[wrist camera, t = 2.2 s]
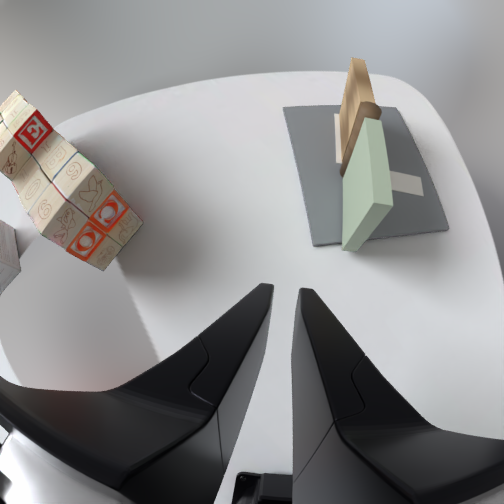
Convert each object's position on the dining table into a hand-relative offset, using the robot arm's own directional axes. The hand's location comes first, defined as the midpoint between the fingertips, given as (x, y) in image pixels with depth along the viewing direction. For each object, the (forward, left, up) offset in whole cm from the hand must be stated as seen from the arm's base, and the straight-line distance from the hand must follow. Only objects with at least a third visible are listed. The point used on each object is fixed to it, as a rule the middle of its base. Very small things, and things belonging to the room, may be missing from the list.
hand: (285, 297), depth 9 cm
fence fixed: (+18, -5, -13) cm, 22 cm away
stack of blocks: (+10, +24, -13) cm, 29 cm away
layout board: (+16, -7, -13) cm, 22 cm away
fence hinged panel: (+10, -5, -12) cm, 16 cm away
